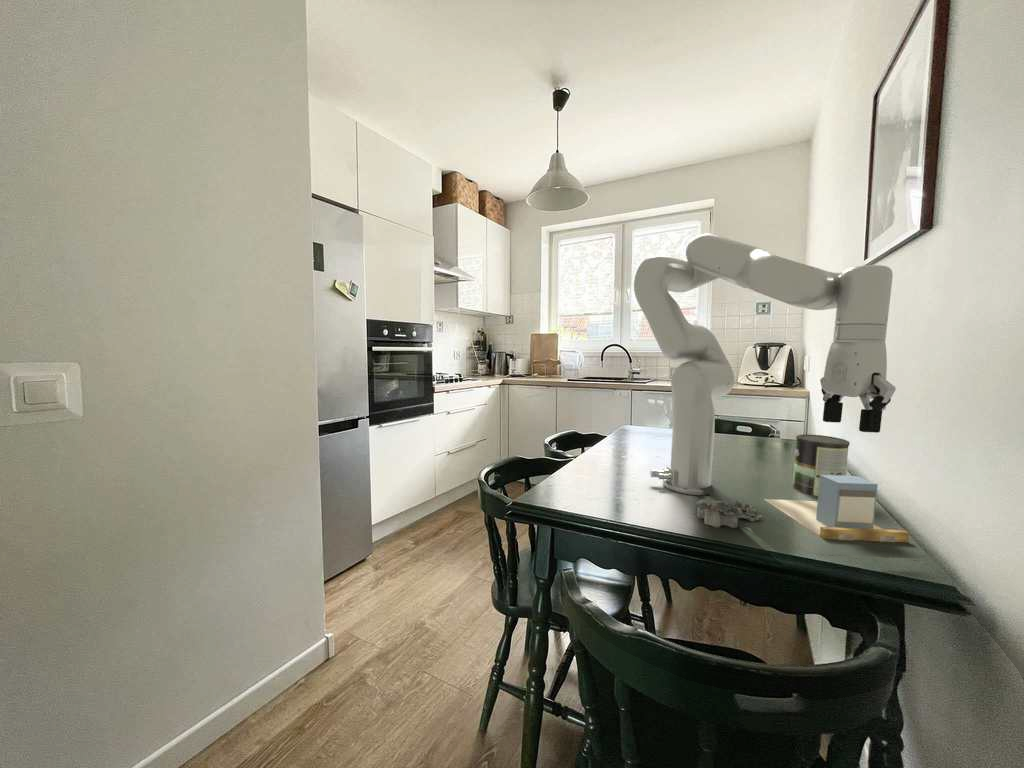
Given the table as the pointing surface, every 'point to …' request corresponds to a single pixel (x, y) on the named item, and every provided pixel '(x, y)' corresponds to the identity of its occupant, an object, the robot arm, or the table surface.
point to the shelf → (807, 517)
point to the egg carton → (725, 512)
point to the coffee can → (818, 460)
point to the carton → (846, 502)
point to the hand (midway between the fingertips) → (849, 426)
